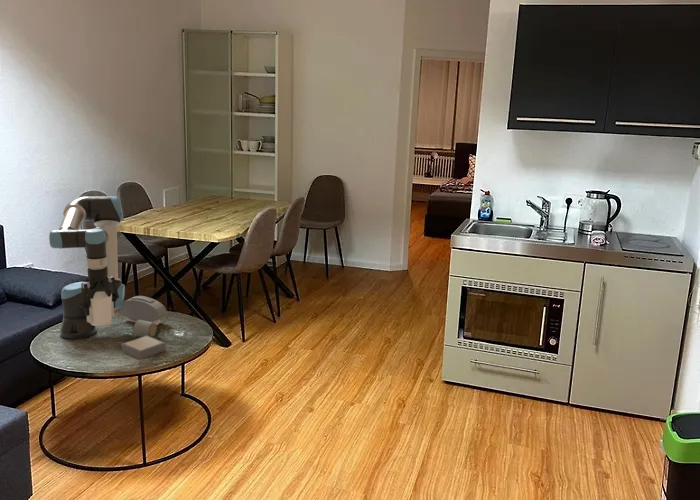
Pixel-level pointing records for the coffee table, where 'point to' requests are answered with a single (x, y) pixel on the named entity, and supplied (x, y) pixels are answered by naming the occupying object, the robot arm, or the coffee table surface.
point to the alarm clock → (143, 309)
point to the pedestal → (143, 347)
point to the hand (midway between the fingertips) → (100, 318)
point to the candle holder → (101, 309)
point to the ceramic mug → (144, 328)
